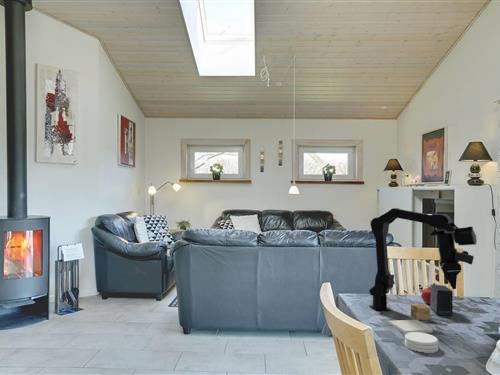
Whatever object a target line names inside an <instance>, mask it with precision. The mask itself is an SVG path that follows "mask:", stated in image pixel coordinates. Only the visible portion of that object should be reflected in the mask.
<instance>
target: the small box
mask: <svg viewBox="0 0 500 375" xmlns="http://www.w3.org/2000/svg"><path fill="white" fill-rule="evenodd" d="M430 287H431V303H430V304H429V305H430V306H429V307H430V310H431V311H433V313H434V314H435V315H436V316H447V317H452V316H453V300H454V298H453V295H454V294H453V289H452V290H451V288H449V287H448V286H446V285H440V284H439V285H438V284H436V285H433V284H430Z"/></svg>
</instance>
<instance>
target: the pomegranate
mask: <svg viewBox="0 0 500 375" xmlns="http://www.w3.org/2000/svg"><path fill="white" fill-rule="evenodd" d="M432 285H437V283H435V282H434V283H432ZM425 287H426V288H425ZM425 287H424V289H423V290H422V292H421V296H420V297H421V300H422V301H423V302H424V303H425V304H427V305H430V303H431V286H428V285H426V286H425Z"/></svg>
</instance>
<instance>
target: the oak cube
mask: <svg viewBox="0 0 500 375" xmlns="http://www.w3.org/2000/svg"><path fill="white" fill-rule="evenodd" d="M430 310H431V308H430V306H427V305H425V304H423V303H411V304H410V317H412V318H413V319H414V320H416V321H430V320H431V311H430Z"/></svg>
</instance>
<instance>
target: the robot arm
mask: <svg viewBox="0 0 500 375" xmlns="http://www.w3.org/2000/svg"><path fill="white" fill-rule="evenodd" d="M397 219H401V220H402V219H403V220H407V221H411V222H417V223H423V224H425V225H428V226H429V227H433V228H434V229H433V231H432V232H431V233H430V236H431V237H433V236H436V241H437V246H438V249H437V250H438V253H439V259H440V260H439V261H438V264H439V266H440V269H441V271H442V273H443V274H444V276H445V278H446V279H447V282H448V283H449V285H450V287H451V288H452V290H456V289H457V282H458V280H457V279H458V275H459V274H460V273H461V272H462V265H461V264H460V263H459V262H462V263H467V264H469V265H473V262H474V255H472V254H469V252H468V251H466V250H463V251H461V252H459V251H458V250H457V248H456V247H455V244H458V246H476V245H477V243H478V242H477V235H476V233H475V230H474V227H473V226H467V227H458V225H456V223H454V222H453V219H452V218H451V216H450V215H448V214H446V213H423V212H417V211H412V210H405V209H400V208H399V207H396V208H395V207H394V208H391V209H390V210H388V211H386V212H385V213H383V214H381V215H380V216H379V217H374V218H373V219H371V221H370V229H371V232H372V234H373V236H374V240H375V241H374V242H375V252H376V253H375V254H376V268H377V272H376V275H375V277H374V278H375V279H374V285H373V286H372V287H371V288H370V289H369V290H368V291H369V295H370V296H372V305H370V304H369V308H371V309H373V310H375V311H390V310H391V308H389V307H388V306H387V304H388V302H387V301H388V300H387V294H389V292H390V291H391V290H392V289H393V288H394V285H395V284H396V283H395V275H394V274H391V272H390V270H389V257H388V243H387V237H388V233H389V228H390V225H391V224H392V223H394V221H396V220H397Z"/></svg>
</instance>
